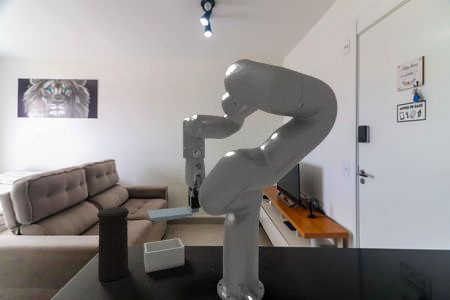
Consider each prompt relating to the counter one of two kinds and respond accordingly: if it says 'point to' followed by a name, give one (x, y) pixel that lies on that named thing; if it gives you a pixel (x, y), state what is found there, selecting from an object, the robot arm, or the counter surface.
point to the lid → (172, 213)
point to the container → (113, 243)
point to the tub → (163, 254)
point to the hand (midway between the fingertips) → (194, 206)
